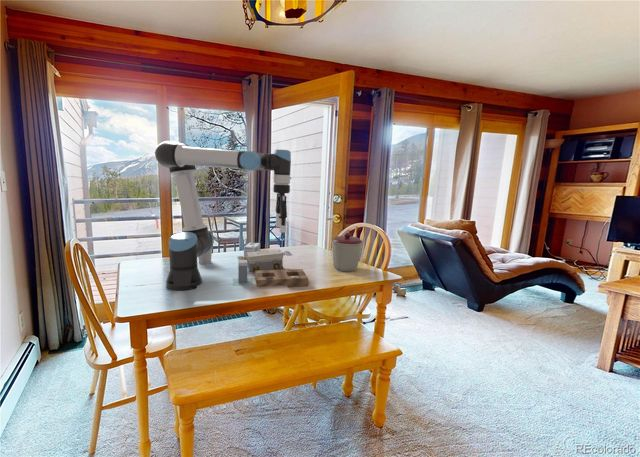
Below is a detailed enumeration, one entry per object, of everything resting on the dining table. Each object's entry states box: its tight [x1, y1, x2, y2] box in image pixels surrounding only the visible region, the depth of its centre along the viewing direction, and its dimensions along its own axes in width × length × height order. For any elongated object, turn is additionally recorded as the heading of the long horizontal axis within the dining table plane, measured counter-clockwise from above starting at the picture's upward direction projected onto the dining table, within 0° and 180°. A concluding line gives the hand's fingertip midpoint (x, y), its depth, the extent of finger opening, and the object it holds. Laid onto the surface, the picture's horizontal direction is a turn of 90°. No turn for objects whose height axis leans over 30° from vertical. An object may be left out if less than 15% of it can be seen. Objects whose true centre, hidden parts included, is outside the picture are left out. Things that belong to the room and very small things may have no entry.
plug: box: [237, 259, 248, 283], centre depth 153 cm, size 4×4×10 cm
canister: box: [330, 232, 364, 272], centre depth 183 cm, size 18×18×21 cm
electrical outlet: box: [236, 248, 293, 273], centre depth 175 cm, size 12×28×10 cm, turn 110°
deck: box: [232, 277, 254, 287], centre depth 154 cm, size 9×9×1 cm
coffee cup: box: [197, 247, 213, 265], centre depth 183 cm, size 10×10×15 cm
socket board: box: [254, 268, 309, 288], centre depth 158 cm, size 24×14×4 cm, turn 104°
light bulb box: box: [243, 242, 261, 257], centre depth 187 cm, size 11×7×11 cm, turn 175°
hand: (280, 229), depth 153 cm, fingers open, 13 cm apart
